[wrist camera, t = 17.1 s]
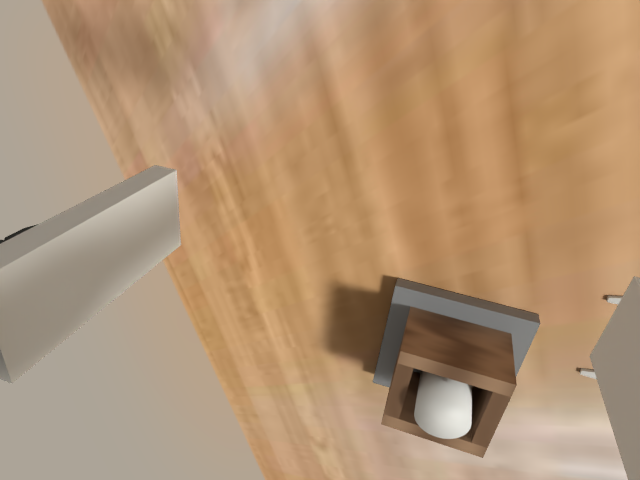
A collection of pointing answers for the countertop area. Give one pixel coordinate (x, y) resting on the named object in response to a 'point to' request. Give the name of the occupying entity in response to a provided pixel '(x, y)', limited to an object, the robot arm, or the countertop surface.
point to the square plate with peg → (436, 391)
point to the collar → (453, 374)
